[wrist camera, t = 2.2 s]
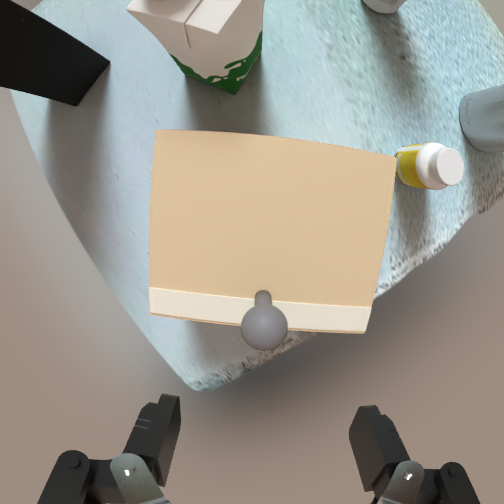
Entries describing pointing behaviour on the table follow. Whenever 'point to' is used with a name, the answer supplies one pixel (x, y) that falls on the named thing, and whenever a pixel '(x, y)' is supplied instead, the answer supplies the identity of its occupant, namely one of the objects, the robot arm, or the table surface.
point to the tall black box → (44, 57)
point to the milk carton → (206, 36)
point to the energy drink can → (384, 5)
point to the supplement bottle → (428, 166)
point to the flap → (266, 232)
